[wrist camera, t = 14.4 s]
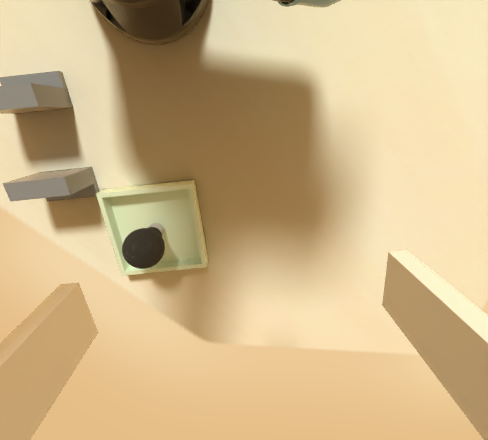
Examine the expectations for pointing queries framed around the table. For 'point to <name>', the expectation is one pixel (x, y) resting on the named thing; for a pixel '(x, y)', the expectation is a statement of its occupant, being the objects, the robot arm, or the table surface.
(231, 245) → the table surface
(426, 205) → the table surface
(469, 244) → the table surface
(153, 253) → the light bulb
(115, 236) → the tray
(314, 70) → the table surface
